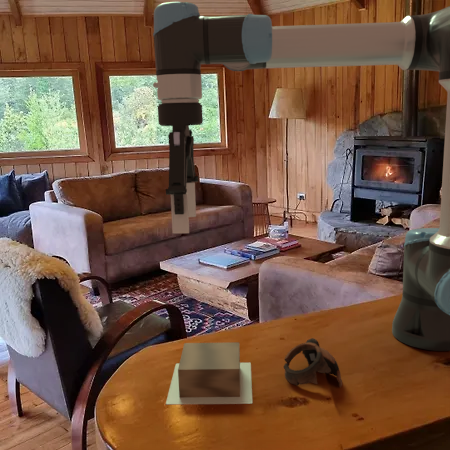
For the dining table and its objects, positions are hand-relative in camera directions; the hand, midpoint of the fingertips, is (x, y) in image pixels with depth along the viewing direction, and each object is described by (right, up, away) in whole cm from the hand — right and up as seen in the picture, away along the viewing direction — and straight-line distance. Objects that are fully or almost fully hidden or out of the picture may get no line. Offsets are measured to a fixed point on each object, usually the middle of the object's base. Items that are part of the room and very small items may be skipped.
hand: (185, 224), depth 93 cm
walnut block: (+5, -27, -2) cm, 28 cm away
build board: (+5, -29, -2) cm, 29 cm away
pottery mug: (+23, -28, +1) cm, 36 cm away
